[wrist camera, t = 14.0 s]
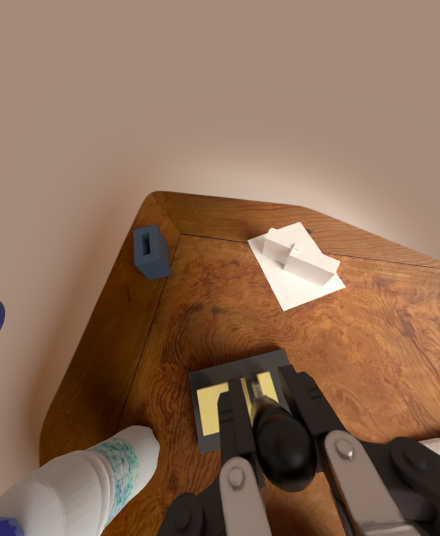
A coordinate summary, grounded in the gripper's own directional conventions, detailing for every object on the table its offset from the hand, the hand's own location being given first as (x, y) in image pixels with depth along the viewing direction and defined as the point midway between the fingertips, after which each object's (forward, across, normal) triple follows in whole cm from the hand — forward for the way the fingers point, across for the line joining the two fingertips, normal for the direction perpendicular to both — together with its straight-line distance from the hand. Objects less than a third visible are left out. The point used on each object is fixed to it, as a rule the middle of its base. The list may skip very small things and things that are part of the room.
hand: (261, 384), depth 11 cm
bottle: (+11, +16, +18) cm, 27 cm away
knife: (+9, 0, +12) cm, 15 cm away
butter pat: (+12, -2, +15) cm, 19 cm away
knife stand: (+31, +11, -2) cm, 33 cm away
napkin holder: (+26, -13, +3) cm, 29 cm away
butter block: (+12, +4, +15) cm, 19 cm away
